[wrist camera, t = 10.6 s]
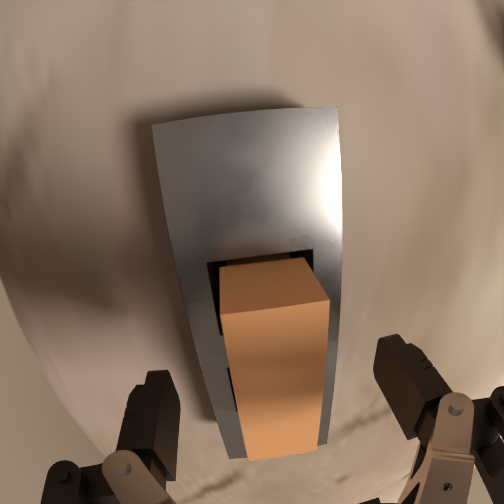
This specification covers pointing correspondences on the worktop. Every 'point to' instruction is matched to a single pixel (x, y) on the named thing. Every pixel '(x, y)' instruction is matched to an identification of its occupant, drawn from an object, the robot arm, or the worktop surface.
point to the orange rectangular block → (275, 351)
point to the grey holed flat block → (250, 222)
